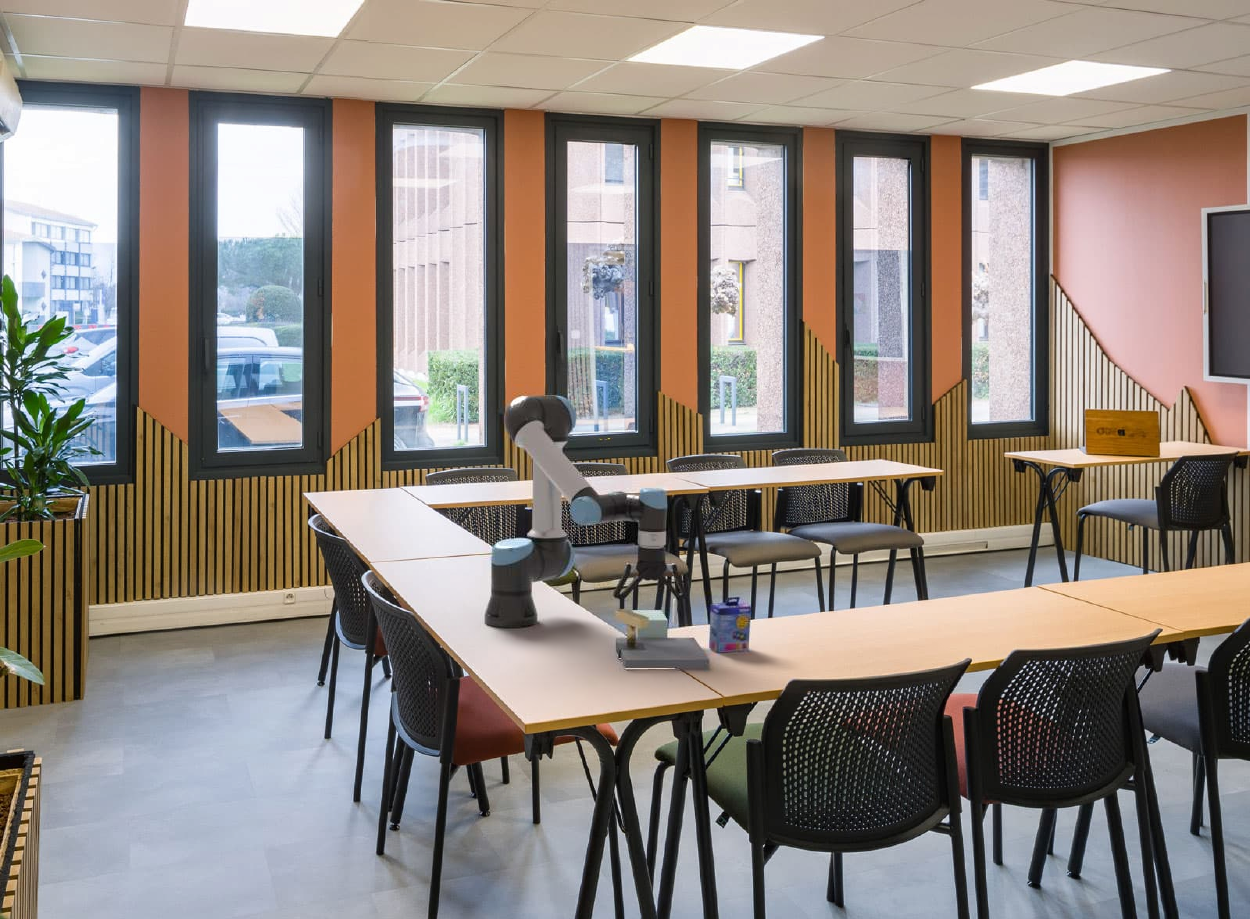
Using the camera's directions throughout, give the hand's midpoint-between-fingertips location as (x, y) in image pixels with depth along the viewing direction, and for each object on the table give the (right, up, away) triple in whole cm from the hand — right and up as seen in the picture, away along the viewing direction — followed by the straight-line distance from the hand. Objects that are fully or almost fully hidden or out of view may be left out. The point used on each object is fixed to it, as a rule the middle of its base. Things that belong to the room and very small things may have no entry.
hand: (649, 623), depth 316 cm
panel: (+2, -6, -17) cm, 19 cm away
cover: (0, -5, 0) cm, 5 cm away
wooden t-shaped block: (-5, -4, -16) cm, 18 cm away
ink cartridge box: (+21, -6, -7) cm, 23 cm away
